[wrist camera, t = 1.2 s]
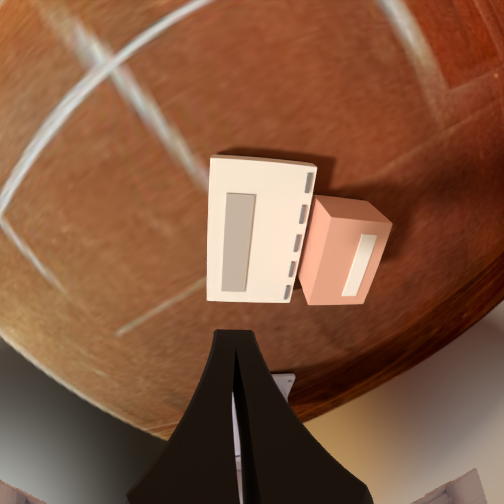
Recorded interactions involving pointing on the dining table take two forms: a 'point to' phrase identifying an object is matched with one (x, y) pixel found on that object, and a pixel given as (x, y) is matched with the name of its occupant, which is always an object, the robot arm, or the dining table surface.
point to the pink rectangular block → (341, 250)
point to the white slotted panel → (256, 227)
